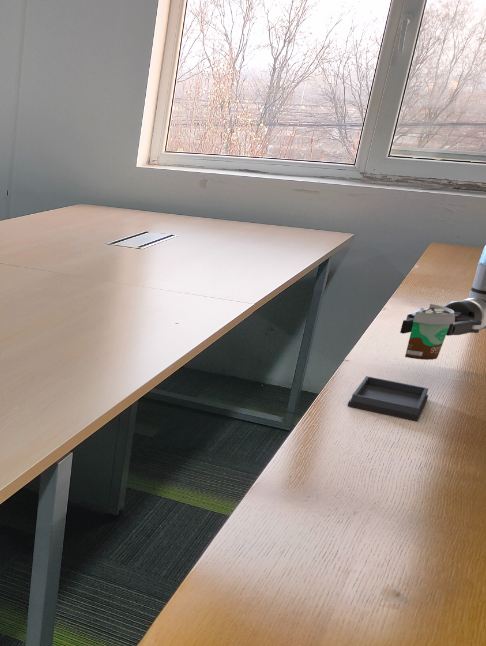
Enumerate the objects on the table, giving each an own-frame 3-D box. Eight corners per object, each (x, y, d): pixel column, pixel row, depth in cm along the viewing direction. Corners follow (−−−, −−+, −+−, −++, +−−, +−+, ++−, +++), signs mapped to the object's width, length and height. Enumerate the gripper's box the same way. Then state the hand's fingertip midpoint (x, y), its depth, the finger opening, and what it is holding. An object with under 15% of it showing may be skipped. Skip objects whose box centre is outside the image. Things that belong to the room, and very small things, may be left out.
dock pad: (427, 399, 167) (430, 388, 166) (417, 421, 154) (420, 409, 154) (361, 386, 174) (364, 375, 173) (347, 406, 161) (350, 394, 160)
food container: (435, 365, 165) (449, 317, 161) (402, 358, 169) (415, 311, 165) (450, 354, 173) (463, 308, 169) (418, 347, 177) (431, 303, 173)
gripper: (496, 341, 176) (443, 355, 163) (424, 325, 187) (370, 337, 175) (506, 307, 173) (454, 319, 161) (433, 293, 185) (378, 303, 172)
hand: (410, 328), depth 168 cm, fingers closed on food container, 2 cm apart
